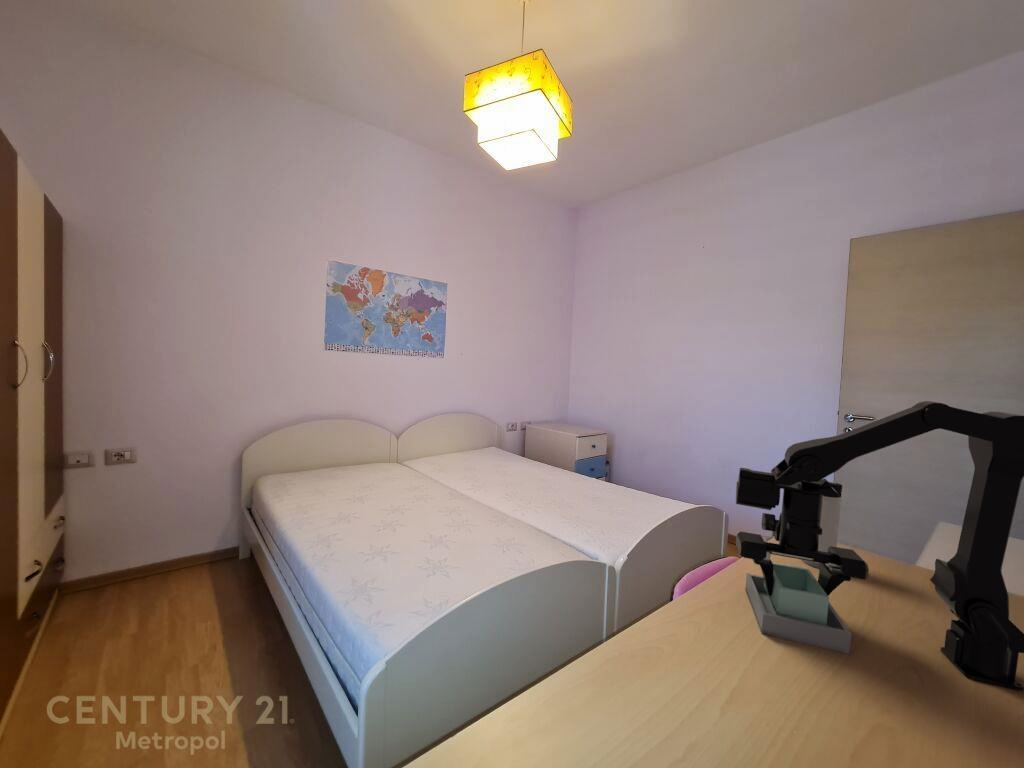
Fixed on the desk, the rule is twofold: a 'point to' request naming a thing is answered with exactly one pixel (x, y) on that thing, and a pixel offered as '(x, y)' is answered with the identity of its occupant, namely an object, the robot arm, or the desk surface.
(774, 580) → the small tote
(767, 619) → the tray
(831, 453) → the robot arm
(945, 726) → the desk surface
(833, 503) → the travel mug
